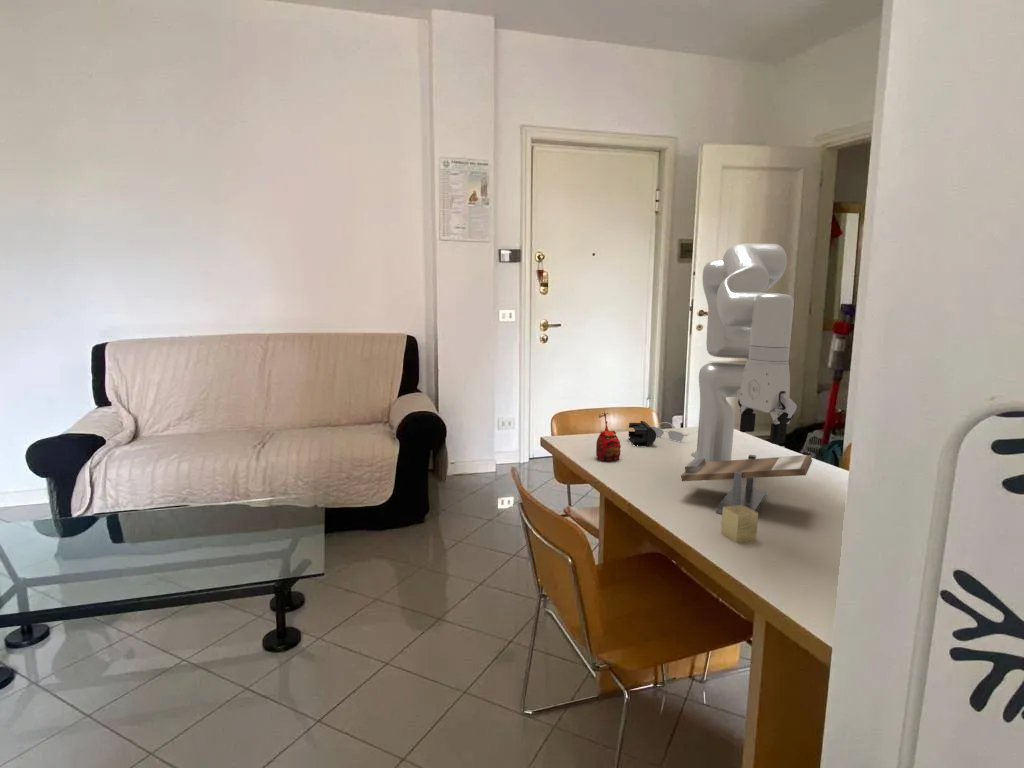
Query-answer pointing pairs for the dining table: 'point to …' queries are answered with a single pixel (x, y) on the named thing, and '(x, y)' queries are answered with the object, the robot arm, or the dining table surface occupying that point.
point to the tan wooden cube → (739, 523)
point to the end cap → (642, 434)
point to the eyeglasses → (670, 433)
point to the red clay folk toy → (607, 444)
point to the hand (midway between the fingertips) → (761, 437)
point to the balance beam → (747, 468)
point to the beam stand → (743, 493)
